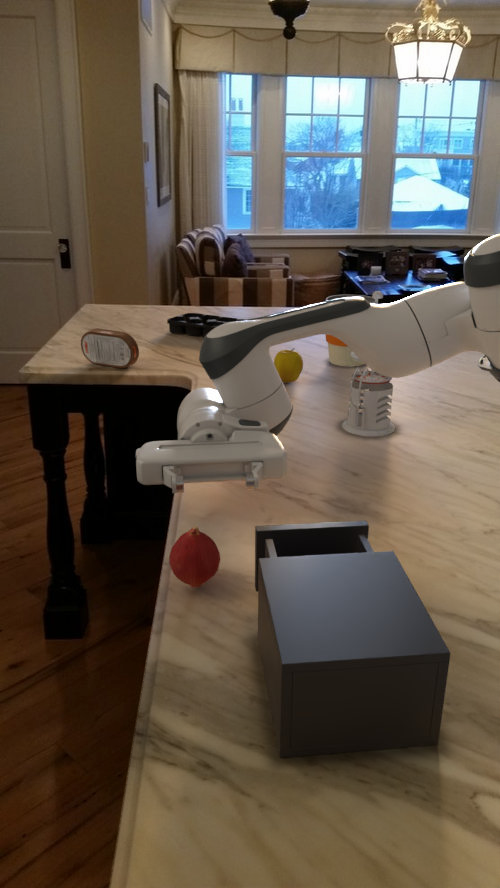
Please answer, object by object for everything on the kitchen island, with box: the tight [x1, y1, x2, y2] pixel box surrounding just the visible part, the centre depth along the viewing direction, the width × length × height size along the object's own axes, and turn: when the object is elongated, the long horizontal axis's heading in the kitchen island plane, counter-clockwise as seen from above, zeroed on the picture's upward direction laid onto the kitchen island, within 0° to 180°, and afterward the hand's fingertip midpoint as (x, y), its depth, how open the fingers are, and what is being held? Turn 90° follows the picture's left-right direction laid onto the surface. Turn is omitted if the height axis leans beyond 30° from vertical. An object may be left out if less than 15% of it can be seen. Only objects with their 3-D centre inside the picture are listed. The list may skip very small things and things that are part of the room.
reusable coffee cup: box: [324, 294, 377, 368], centre depth 168 cm, size 13×13×15 cm
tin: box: [80, 327, 140, 369], centre depth 165 cm, size 15×3×8 cm, turn 65°
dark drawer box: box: [257, 550, 451, 759], centre depth 65 cm, size 16×14×10 cm
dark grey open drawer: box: [254, 520, 375, 593], centre depth 74 cm, size 16×13×8 cm
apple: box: [273, 348, 304, 384], centre depth 154 cm, size 6×6×8 cm
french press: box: [341, 290, 396, 437], centre depth 125 cm, size 10×12×25 cm
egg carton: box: [166, 312, 247, 338], centre depth 195 cm, size 18×30×4 cm, turn 72°
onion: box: [168, 526, 221, 589], centre depth 81 cm, size 6×6×8 cm
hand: (215, 486), depth 89 cm, fingers open, 8 cm apart
